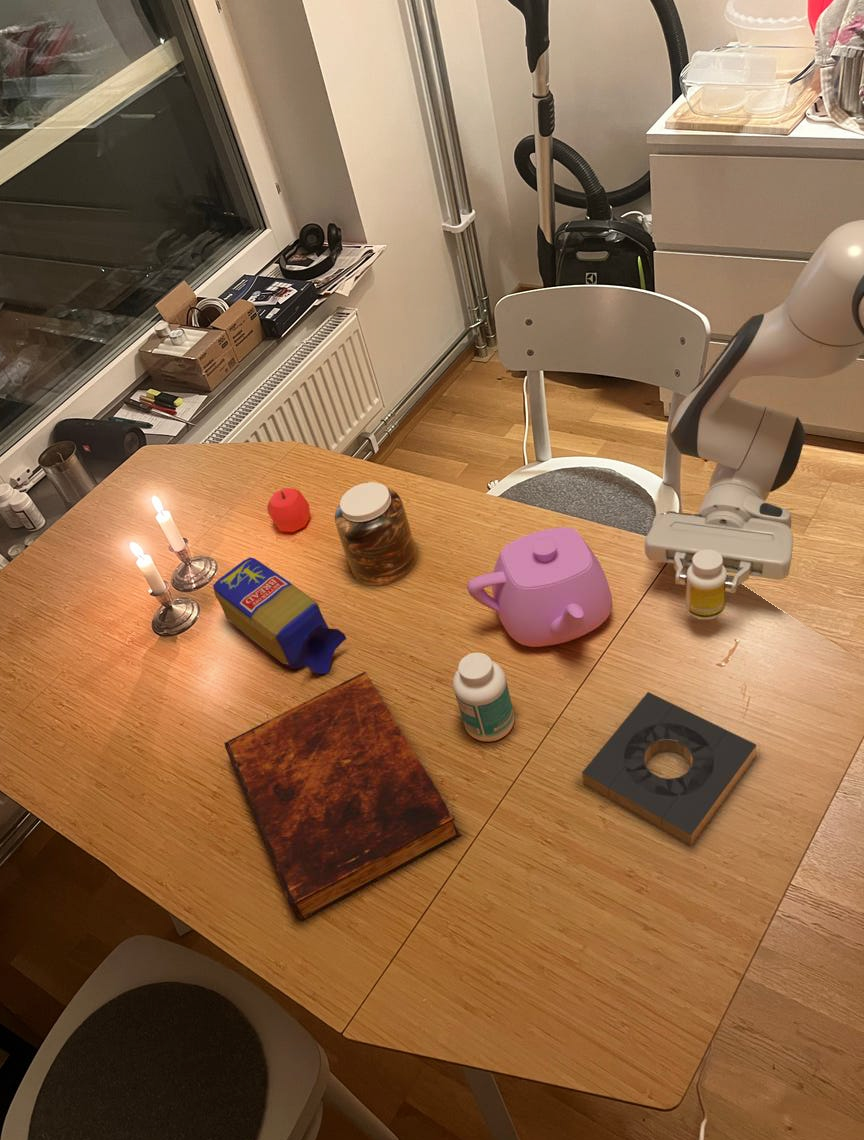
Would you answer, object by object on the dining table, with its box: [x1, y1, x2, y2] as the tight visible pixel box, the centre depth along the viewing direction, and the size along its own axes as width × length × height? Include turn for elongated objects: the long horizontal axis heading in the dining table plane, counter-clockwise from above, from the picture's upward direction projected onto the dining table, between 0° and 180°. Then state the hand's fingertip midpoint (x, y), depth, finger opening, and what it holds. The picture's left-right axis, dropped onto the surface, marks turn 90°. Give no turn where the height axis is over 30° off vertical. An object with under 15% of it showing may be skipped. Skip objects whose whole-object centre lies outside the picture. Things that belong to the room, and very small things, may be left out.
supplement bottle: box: [685, 550, 728, 620], centre depth 130 cm, size 5×5×10 cm
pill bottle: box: [452, 652, 515, 742], centre depth 129 cm, size 8×7×14 cm
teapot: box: [466, 526, 613, 648], centre depth 137 cm, size 23×21×15 cm
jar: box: [334, 481, 418, 587], centre depth 156 cm, size 12×12×15 cm
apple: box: [266, 487, 311, 533], centre depth 171 cm, size 8×8×8 cm
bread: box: [212, 557, 347, 675], centre depth 151 cm, size 10×25×10 cm, turn 42°
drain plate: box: [581, 691, 758, 847], centre depth 121 cm, size 16×16×3 cm
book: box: [224, 671, 462, 922], centre depth 129 cm, size 30×24×5 cm
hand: (705, 585), depth 129 cm, fingers closed on supplement bottle, 5 cm apart
